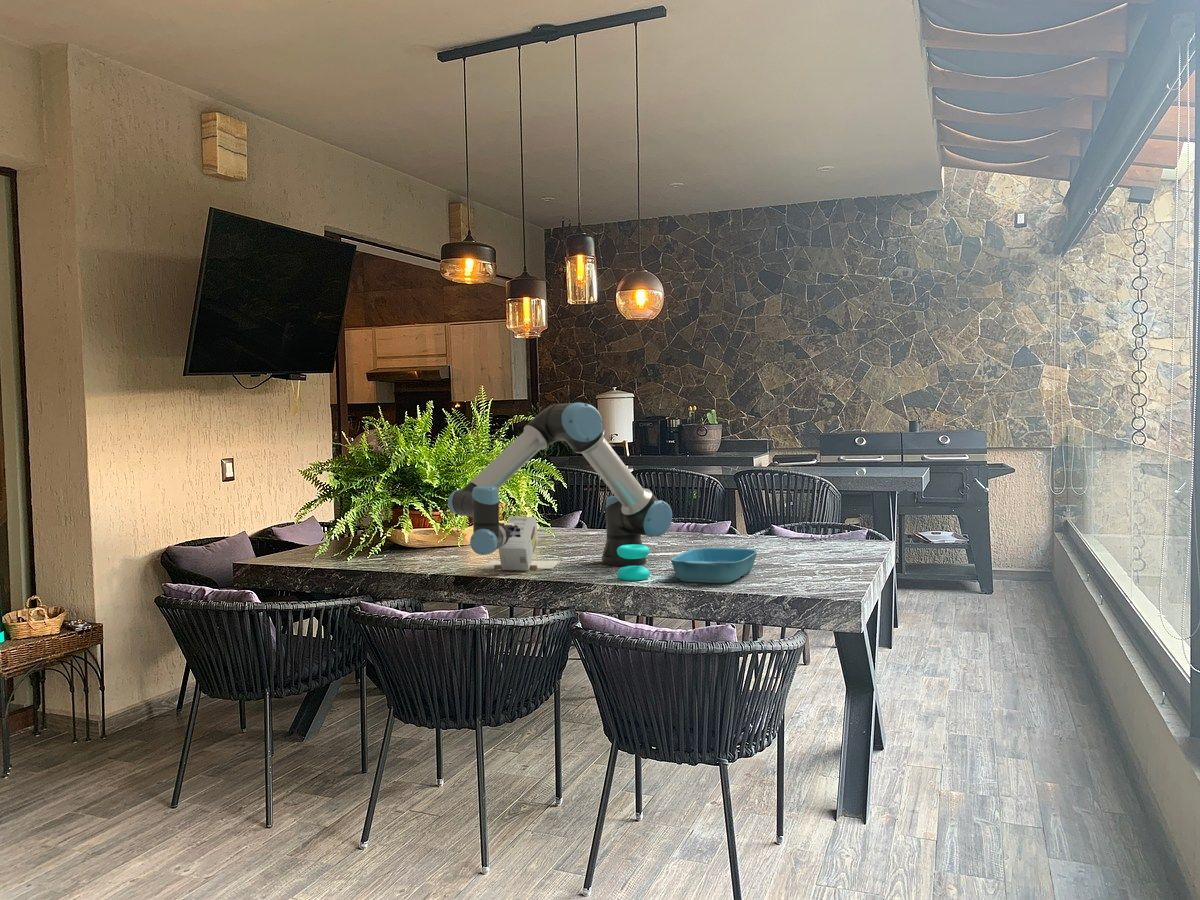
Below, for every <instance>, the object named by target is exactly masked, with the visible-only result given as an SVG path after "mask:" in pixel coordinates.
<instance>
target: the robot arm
mask: <svg viewBox="0 0 1200 900" xmlns="http://www.w3.org/2000/svg"><path fill="white" fill-rule="evenodd" d="M602 422H603V418H602V416H601V413H600V411H598V409H597V408H596V407H595V406H593V405H592V404H589V403H584V402H578V401H577V402H573V403H554V404H552V405H549V406H548V407H546V408H545V409H543V410H542V411H541V412H539V413H538V414H537V415H535V417H533V418H532V419H531V420H530V421H529V422H528V423H527V424H526V425H525V426H524V427H523V432H522V433H521V434H520V435H519V436H518V437H517V438H516V439H514V440H513V441H512V442H511V444H509V445H508V446H506V448H505V449H504V450H503V451H502V452H501V453H499V455H497V457H496V458H494V459H493V460H492V461H491V462H489V464H488V465H487V466H486V467H485V468H483V470H481V471H480V472H479V473H478V474H477V475H476V476H475V477H474V478H473V479H472V480H471V481H470V482H468V483H467V484H466V485H465V486H464V487H463V488H462V489H460V488H459V489H457V490H454V491H452V492H451V493H450V495H449V496H448V499H447V506H448V509H449V510H450V511H451V512H452V513H454V514H455V515H458V516H462V517H463V516H465V517H471V518H472V528H473V529H472V531H473V533H472V535H471V536H470V539H469V543H470V548H471V549H472V551H473V552H474V553H475V554H478V555H480V556H487V555H490V554H493V553H494V552H496V550H499V548H500V547H502V546H503V545H505V544H506V543H507V541H508V539H509V538H510V537H512V536H513V535H514V537H521V535H520V529H519V528H518V526H517V525H515V526H514V523H508V524H507V523H506V524H505V522H500V497H499V489H500V488H501V487H502V486H503V485H505V484H506V483H507V482H508V480H509V479H511V478H512V477H513V476H514V475H515V474H516V473H517V472H518V471H520V469H522V468H523V466H525V464H527V463H528V462H529V461H530V460H531V459H532V458H533V457H534V456H535V455H536V454H538V452H540V451H541V450H546V449H547V448H548V447H549V446H551V445H552V444H554V443H557V442H559V441H561V442H566V443H567V444H568V446H569V448H571V449H572V451H573V452H574V453H576V454H582V456H583V457H584V458H585V459H586V461H587V462H588V463H589V465H590V467H592V469H593V470H594V471H595V472H596V474H598V476H599V477H600V479H601V480H602V481H603V482H604V483H605V485H606V486H607V487H608V489H609V490H610V492H612V495H610V496H608V497H607V498H606V501H605V525H606V527H605V529H606V530H605V531H606V540H605V541H606V542H605V545H604V547H603V552H602V555H601V563H602V565H606V566H612V567H613V566H617V567H625V566H641V565H644V564H646V563H647V556H646V557H644V558H640V559H625V558H622V557H620V556H619V555H618V554H617V548H618V547H620V546H622V545H631V544H637V545H643V542H642V536H647V537H650V538H652V537H661V536H663V535H665V534H666V533H667V531H668V530H670V527H671V525H672V521H673V519H672V518H673V510H672V508H671V506H670V504H668V503H667V502H666V501H664V500H662V499H661V500H659V499H658V498H657V497H656V496H655V495H654V492H653V491H651V489H649V488H644V487H643V486H642V485H641V484H640V482H638V480H637V479H636V477H635V476H634V475H633V473H632V472H631V471H630V469H629V468H628V467H627V466H626V464H625V463H624V462H623V460H622V459H621V458H620V455H618V454H617V452H616V451H615V450H614V449H613V447H612V446H611V444H610V443H609V442H608V440H607V439H606V438H605V437H604V436H605V428H604V427H603V424H602Z"/></svg>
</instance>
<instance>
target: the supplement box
mask: <svg viewBox="0 0 1200 900" xmlns="http://www.w3.org/2000/svg"><path fill="white" fill-rule="evenodd" d="M508 523H514V526H515V525H517V526H518V528H519V529H520V535H521V537H514V535H513V536H512V537H510V538H509V539H508V541H507V543H506V544H505V545H503V546H502V547H500V548H498V553H499V561H500V562H501V568H502V570H501V571H520V572H523V571H524V572H525V571H526V572H527V571H530V570H529V568H530V565H531V561H533V558H534V554H535V551H536V547H537V544H538V542H539V541H538V540H539V533H538V523H537V517H536V516H516V515H515V516H514V515H512V516H511V515H510V516H509V517H508V519H507V523H506V524H508Z"/></svg>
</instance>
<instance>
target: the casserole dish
mask: <svg viewBox="0 0 1200 900" xmlns="http://www.w3.org/2000/svg"><path fill="white" fill-rule="evenodd" d="M757 555H758V550H757V549H754V548H753V549H752V548H745V547H744V548H743V547H720V546H717V547H715V546H714V547H712V546H711V547H710V546H709V547H698V548H691V549H688V550H686V551H684V552H681V553H679V554H677V555H674V556H673V557H671V558H670V561H671V564H672V568H673V571H674V574H675V575H676V577H677V578H678V579H679V580H680V581H682V582H688V583H705V584H728V583H732V582H735V581H736V580H739V579H741V576H742V577H743V576H745V575H746V574H748V573H749V572H750V571H751V570H752V568H753V567H754V563H755V561H756V557H757Z"/></svg>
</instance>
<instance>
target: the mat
mask: <svg viewBox="0 0 1200 900" xmlns="http://www.w3.org/2000/svg"><path fill="white" fill-rule="evenodd" d="M560 563H561V560H532V561H531V565H530V568H529V571H537V569H553V568H554V567H555V566H556V565H557V564H558V565H559V564H560ZM558 565H557V566H558ZM557 566H556V567H557ZM556 567H555V568H556ZM481 568H483V569H482V570H494V569H502V568H501V562H500V560H490V561H489V562H488V563H486V564H485V565H483V566H481V567H480V569H481ZM555 568H554V569H555ZM554 569H553V570H554Z"/></svg>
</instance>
